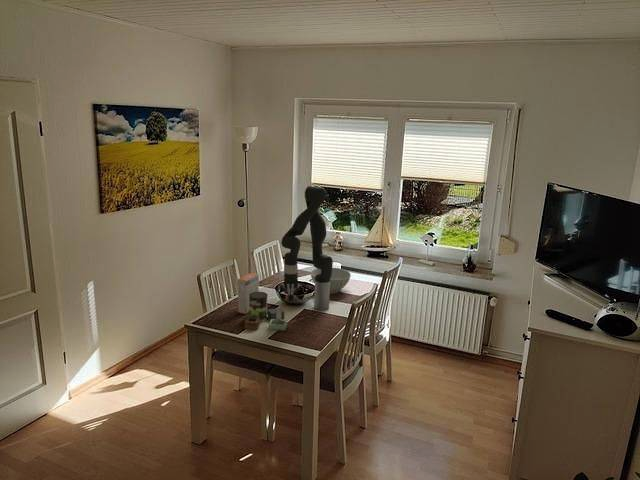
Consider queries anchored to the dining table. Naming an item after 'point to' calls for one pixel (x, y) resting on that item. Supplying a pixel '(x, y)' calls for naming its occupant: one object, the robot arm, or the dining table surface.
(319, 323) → the dining table surface
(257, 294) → the coffee can
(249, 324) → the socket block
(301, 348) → the dining table surface
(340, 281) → the decorative bowl
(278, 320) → the pin
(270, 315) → the chock
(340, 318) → the dining table surface
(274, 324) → the tray
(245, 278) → the cracker box
